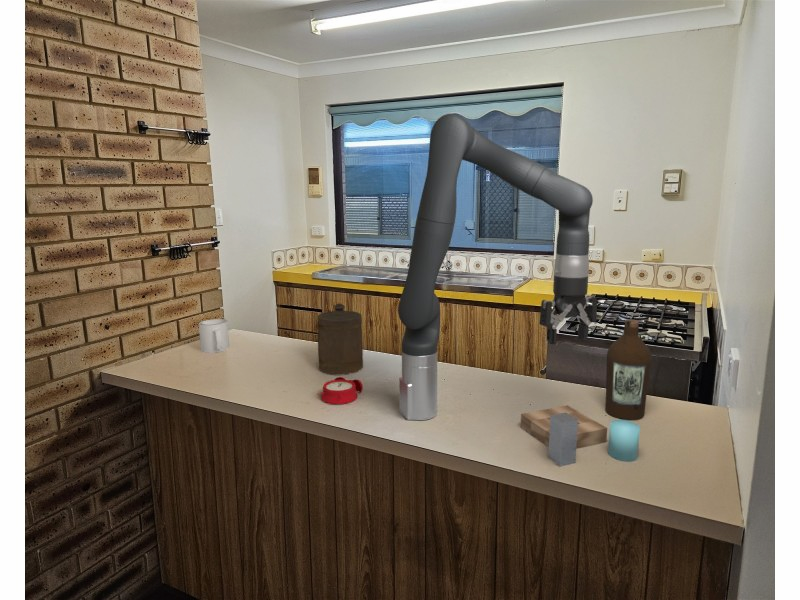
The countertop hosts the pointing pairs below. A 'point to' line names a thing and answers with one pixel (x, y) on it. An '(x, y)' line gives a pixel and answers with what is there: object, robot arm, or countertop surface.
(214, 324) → the mug
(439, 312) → the robot arm
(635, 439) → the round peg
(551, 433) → the square peg
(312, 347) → the countertop surface
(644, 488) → the countertop surface
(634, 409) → the brown bottle
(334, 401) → the alarm clock
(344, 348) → the wooden container
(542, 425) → the socket block
